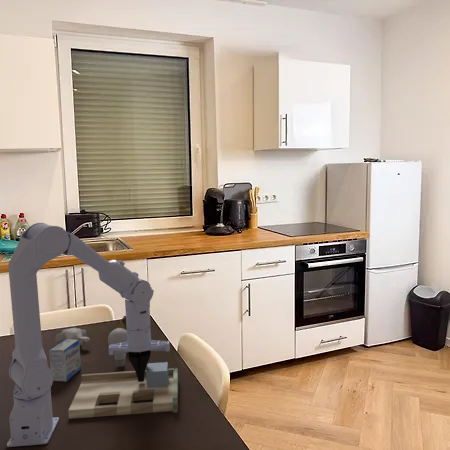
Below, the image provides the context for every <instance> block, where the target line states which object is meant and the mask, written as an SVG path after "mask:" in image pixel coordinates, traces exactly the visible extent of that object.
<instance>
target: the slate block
mask: <svg viewBox="0 0 450 450" xmlns="http://www.w3.org/2000/svg"><path fill="white" fill-rule="evenodd" d="M168 369H169V363H168V361H165V362H151V363H150V362H149V363H147V366H146V369H145V370H146V379H147V388H152V387H166V386H168Z"/></svg>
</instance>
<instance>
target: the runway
mask: <svg viewBox="0 0 450 450" xmlns="http://www.w3.org/2000/svg"><path fill="white" fill-rule="evenodd" d="M146 370H147V369H145V374H144V381H143V382H138V378H137V375H136V372H135V370H129V371H128V370H127V371H114V372H113V371H112V372H99V373H97V372H95V373H86V374H81V382H80V384H79V387H78V389H77V391H76V394H75V395H74V398H73V399H72V402H71V404H70V406H69V408H68V419H71V420H72V419H73V420H74V419H84V418H85V419H86V418H94V417H98V418H99V417H109V416H111V417H112V416H123V415H124V416H125V415H136V414H149V413H164V412H173V414H174V413H179V370H178V367H173V368H168V386H166V387H152V388H147V379H146ZM149 400H152V401H149ZM136 401H147V402H136ZM107 403H117V404H108V405H105V404H107ZM100 404H104V405H100Z"/></svg>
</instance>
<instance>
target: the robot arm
mask: <svg viewBox="0 0 450 450" xmlns="http://www.w3.org/2000/svg"><path fill="white" fill-rule="evenodd" d="M61 255H65V256H73V257H75V258H76V259H78V260H79V261H80V262H83V263H84V264H86V265H87V266H89V267H91V268H92V269H93V270H95V271H96V272H98V278H99V281H101V282H102V283H104V284H105V285H106V286H108V287H109V288H111V289H112V290H113V291H115V292H117V293H118V294H119V295H120V297H121V298H123V299H124V305H125V316H126V327H127V342H124V343H119V344H112V345H110V346H109V345H108V355H109V356H114V354H118V353H126V354H128V357H127V358H128V361H129V363H130V364H131V366H132V367H133V369H134V370H133V371H135V372H136V375H137V378H138V382H143V381H144V374H145V370H147V365H148V362H149V361H150V358H151V354H152V352H158V351H160V352H161V351H163V352H170V349H171V348H170V346H171V344H170V340H153V339H152V334H151V313H150V312H151V311H150V307H151V301H152V298H153V296H154V292H155V291H154V289H153V288H152V286H151V285H152V284H150V282H149V281H147V280H146V279H145V280H144V279H142V278H139V273H138V272H136V271H131V270H130V269H128V268H127V267H126V266H125V264H126V263H125V262H124V261H122V260H121V259H120V260H119V259H118V260H116V259H111V260H107V258H105V257H104V256H102V255H101V254H100V253H98V252H97V251H96V250H95V249H93V247H91V246H90V245H88V244H87V243H86V242H85V241H84V240H82V239H81V238H79V237H78V236H76V235H75V234H73V233H71V232H70V231H66V229H64V227H62V226H59V225H50V224H48V223H45V222H35V223H34V224H31V225H30V226H28V228H26V229H25V230H24V231H23V232H22V233H21V234H20V235H19V241H18V243H17V245H16V247H15V249H14V251H13V253H12V255H11V257H10V259H9V261H8V280H9V287H10V288H9V289H10V291H9V292H10V301H11V312H12V313H11V314H12V325H13V334H14V335H13V337H14V345H15V346H14V347H15V348H14V350H13V351H12V353H11V355H12V360H11V363H10V365H9V368H8V375H9V378H10V380H12V382H14V384H15V385H14V388H13V391H12V394H13V395H12V396H13V397H12V398H13V407H12V410H11V412H10V414H9V418H8V419H9V420H8V421H9V431H10V433H9V434H10V438H9V440H8V441H7V444H6V447H7V448H12V447H23V446H37V445H46V444H48V443H49V441H50V439H51V438H52V436H53V433H54V431H55V429H56V426H57V425H58V423H59V421H60V417H59V416H57V417H54V416H53V405H52V394H51V393H52V389H51V387H52V385H53V383H54V381H53V373H52V371H51V368H50V367H49V365H48V358H47V356H46V352H45V350H44V348H43V339H42V329H41V328H42V327H41V326H42V325H41V324H42V323H41V316H40V315H41V314H40V303H39V301H40V300H39V288H38V275H37V273H38V272H39V270H41V268H43V267H44V266H45V265H46V264H47V263H48V262H50V261H52V260H55V259H56V258H58V257H60V256H61Z"/></svg>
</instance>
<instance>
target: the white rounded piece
mask: <svg viewBox="0 0 450 450" xmlns="http://www.w3.org/2000/svg"><path fill="white" fill-rule="evenodd" d="M66 339H73V340H79V346H81V345H83V343H84V342H85V343H88V342H91V339H90V337H88V336H87V330H86V329H81V328H77V327H71V328H66V329H61V333H58V334H56V335H55V343H58V344H60V343H61V342H63V341H64V340H66Z"/></svg>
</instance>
